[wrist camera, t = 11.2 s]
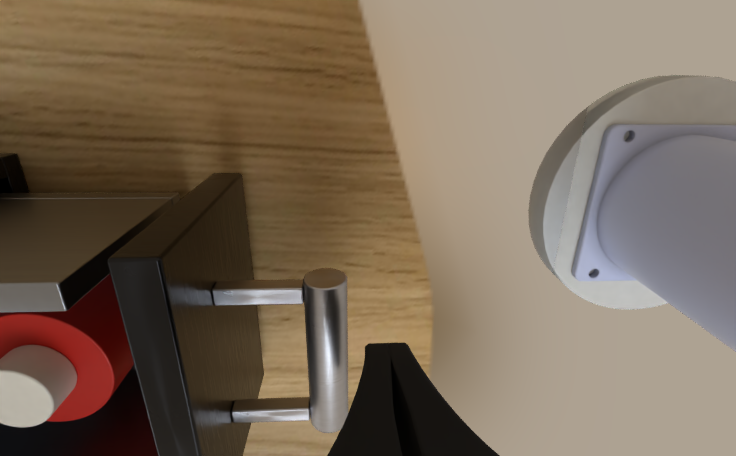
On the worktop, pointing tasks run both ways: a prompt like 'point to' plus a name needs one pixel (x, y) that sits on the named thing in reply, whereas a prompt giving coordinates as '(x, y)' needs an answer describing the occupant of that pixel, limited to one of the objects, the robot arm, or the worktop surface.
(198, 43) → the worktop surface
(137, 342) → the drawer
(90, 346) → the bottle
